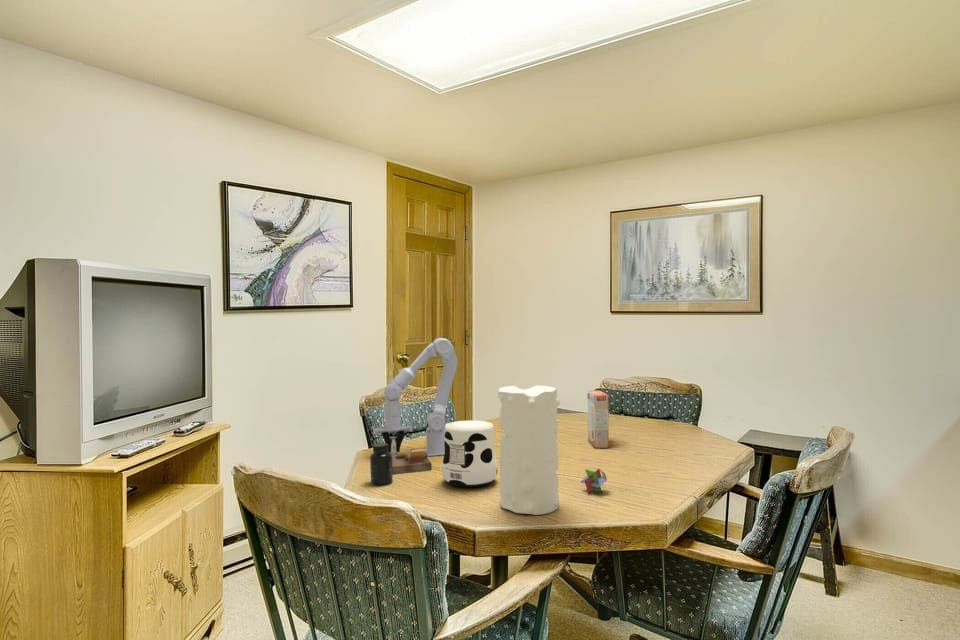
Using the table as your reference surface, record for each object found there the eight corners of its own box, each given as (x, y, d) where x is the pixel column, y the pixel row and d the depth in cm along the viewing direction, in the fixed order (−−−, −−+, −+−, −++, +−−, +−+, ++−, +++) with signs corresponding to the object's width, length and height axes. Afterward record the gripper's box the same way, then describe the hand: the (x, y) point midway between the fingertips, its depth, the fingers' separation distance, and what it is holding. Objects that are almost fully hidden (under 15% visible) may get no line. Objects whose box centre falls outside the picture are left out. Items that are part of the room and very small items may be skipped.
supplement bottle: (384, 478, 174) (383, 441, 174) (396, 482, 169) (396, 444, 169) (366, 483, 169) (365, 444, 169) (378, 487, 164) (377, 448, 164)
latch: (423, 458, 188) (422, 455, 188) (426, 450, 183) (425, 447, 184) (409, 460, 186) (408, 456, 187) (411, 452, 182) (411, 448, 182)
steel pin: (396, 454, 204) (396, 436, 204) (398, 456, 202) (397, 437, 202) (388, 455, 203) (388, 437, 203) (390, 457, 201) (389, 438, 201)
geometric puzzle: (590, 491, 151) (601, 465, 154) (572, 485, 157) (583, 460, 159) (604, 502, 155) (614, 476, 157) (586, 495, 160) (596, 471, 163)
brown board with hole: (421, 458, 198) (421, 448, 198) (431, 470, 183) (431, 459, 183) (383, 462, 193) (383, 452, 193) (390, 474, 178) (390, 463, 178)
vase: (567, 515, 138) (564, 391, 138) (504, 518, 137) (502, 393, 137) (552, 494, 155) (550, 383, 155) (496, 496, 154) (495, 385, 154)
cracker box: (609, 448, 208) (609, 394, 208) (594, 448, 209) (593, 394, 209) (602, 440, 222) (601, 389, 222) (587, 440, 223) (586, 390, 223)
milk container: (491, 473, 178) (490, 418, 178) (502, 489, 161) (501, 429, 161) (439, 476, 175) (438, 421, 175) (445, 493, 158) (444, 432, 158)
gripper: (409, 412, 209) (410, 447, 209) (371, 415, 204) (372, 451, 204) (413, 415, 202) (414, 451, 202) (374, 418, 197) (375, 455, 197)
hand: (393, 451), depth 202 cm, fingers closed on steel pin, 3 cm apart
